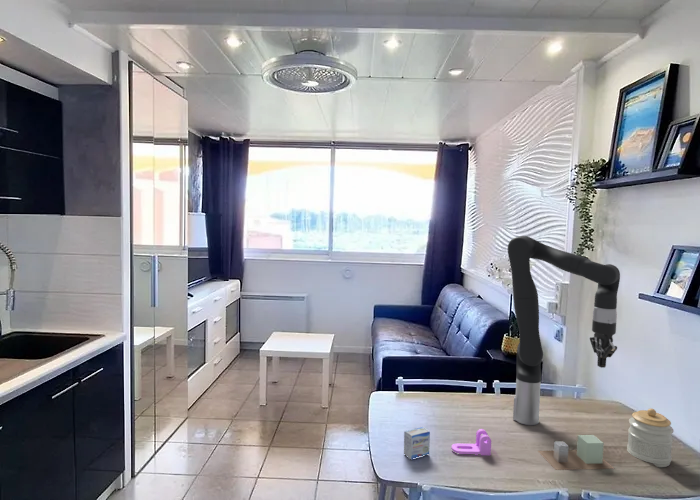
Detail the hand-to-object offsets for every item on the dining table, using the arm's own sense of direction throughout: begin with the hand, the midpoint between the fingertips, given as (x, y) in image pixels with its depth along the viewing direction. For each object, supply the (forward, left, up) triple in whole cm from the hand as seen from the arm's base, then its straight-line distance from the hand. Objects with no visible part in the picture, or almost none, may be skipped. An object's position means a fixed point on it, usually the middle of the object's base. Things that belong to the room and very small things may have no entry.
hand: (601, 366), depth 167 cm
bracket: (-35, -34, -29) cm, 57 cm away
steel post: (-8, -23, -28) cm, 37 cm away
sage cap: (0, -17, -28) cm, 32 cm away
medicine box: (-49, -48, -29) cm, 75 cm away
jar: (+16, 0, -29) cm, 33 cm away
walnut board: (-4, -20, -29) cm, 35 cm away
